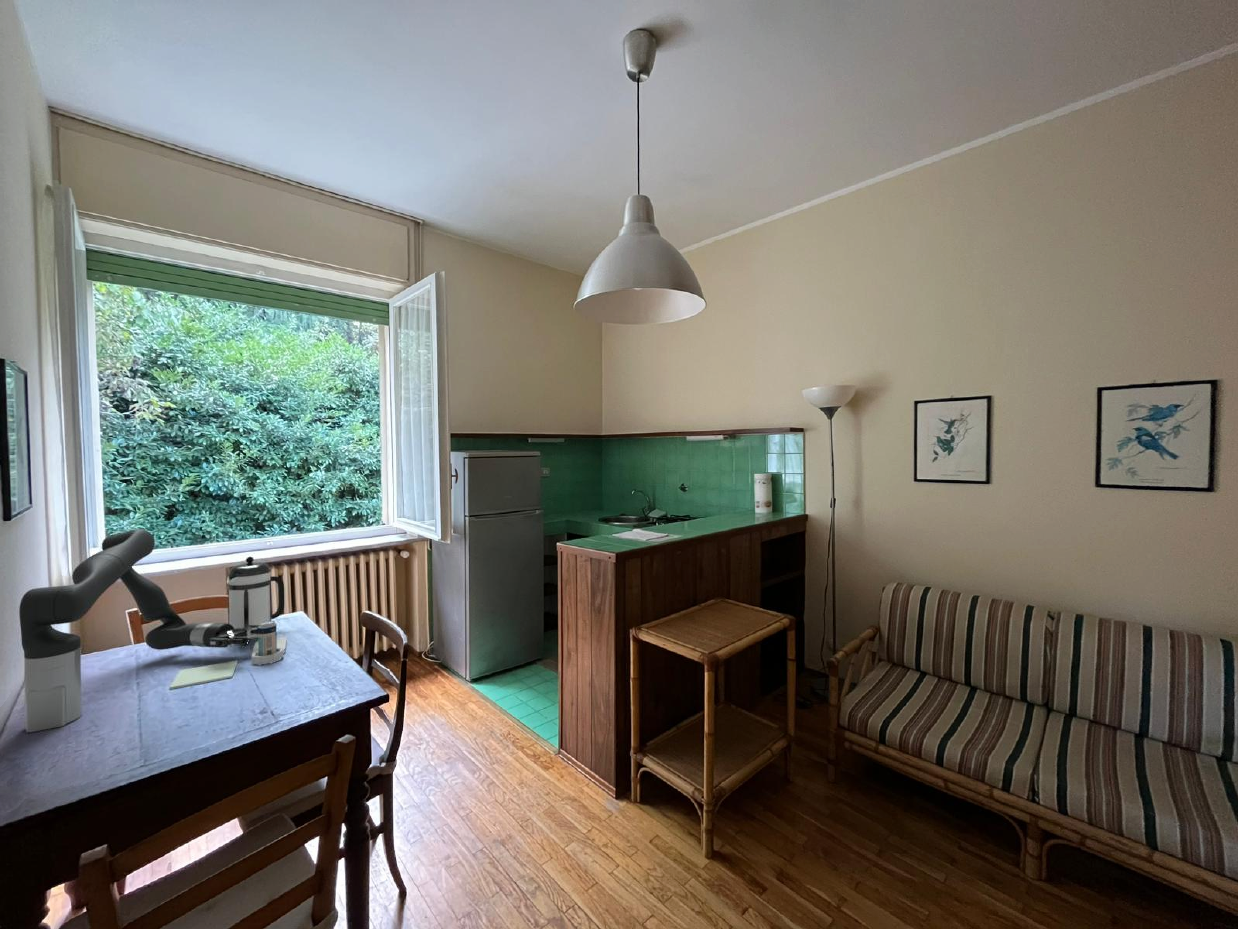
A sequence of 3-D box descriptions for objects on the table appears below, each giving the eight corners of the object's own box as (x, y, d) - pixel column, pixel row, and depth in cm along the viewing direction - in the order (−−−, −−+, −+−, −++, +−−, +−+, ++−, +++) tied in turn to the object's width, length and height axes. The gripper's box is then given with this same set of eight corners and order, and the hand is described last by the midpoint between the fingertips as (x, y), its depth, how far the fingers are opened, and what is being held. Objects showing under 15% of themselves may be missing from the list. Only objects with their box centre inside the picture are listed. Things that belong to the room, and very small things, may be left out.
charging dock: (283, 660, 160) (283, 653, 160) (249, 667, 155) (249, 659, 155) (286, 641, 178) (286, 634, 178) (255, 646, 173) (255, 639, 173)
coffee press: (272, 642, 177) (271, 558, 177) (217, 649, 171) (216, 562, 171) (285, 627, 193) (284, 550, 193) (235, 633, 187) (234, 554, 187)
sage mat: (232, 677, 147) (232, 675, 147) (169, 689, 140) (169, 687, 140) (237, 662, 159) (237, 660, 159) (180, 672, 151) (180, 670, 151)
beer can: (280, 656, 163) (279, 620, 163) (270, 662, 158) (269, 625, 158) (265, 657, 163) (264, 620, 163) (255, 663, 158) (254, 625, 158)
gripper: (191, 631, 156) (238, 632, 154) (231, 617, 170) (274, 617, 168) (191, 654, 156) (239, 656, 154) (231, 639, 170) (275, 640, 168)
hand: (257, 636), depth 161 cm, fingers open, 8 cm apart
